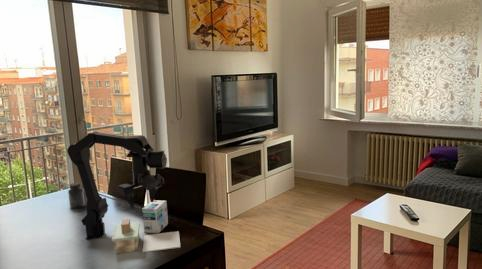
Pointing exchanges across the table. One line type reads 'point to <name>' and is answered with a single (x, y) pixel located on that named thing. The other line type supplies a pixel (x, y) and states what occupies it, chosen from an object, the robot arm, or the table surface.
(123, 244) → the crate
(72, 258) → the table surface
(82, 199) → the supplement bottle
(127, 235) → the lid
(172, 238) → the felt mat
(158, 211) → the light bulb box
